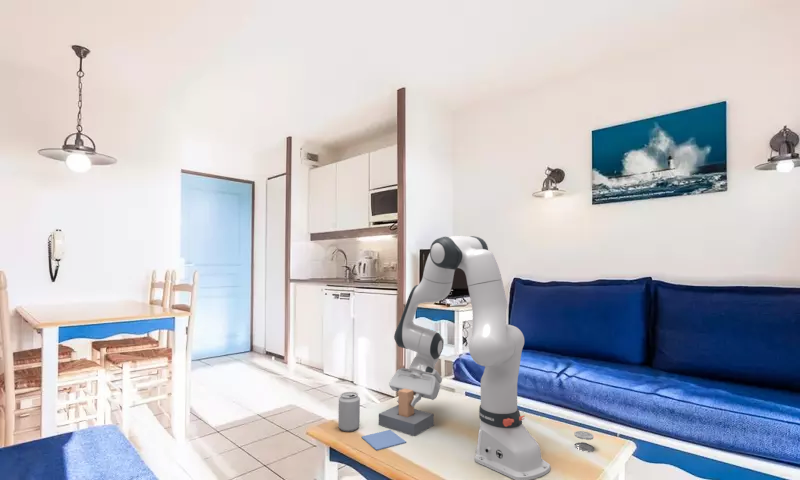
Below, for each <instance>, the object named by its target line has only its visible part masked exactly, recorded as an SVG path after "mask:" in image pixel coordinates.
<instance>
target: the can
mask: <svg viewBox="0 0 800 480" xmlns="http://www.w3.org/2000/svg"><path fill="white" fill-rule="evenodd" d="M358 395H359V393H357V392H355V391H346V392H342V393H340V396H339V397H338V428H339V429H340V430H341V431H342V432H354V431H356V430H357V429H358V428H359V427H360V426H361V424H360V422H361V421H360V420H361V418H360V416H361V413H360V411H361V410H360V409H361V408H360V407H361V406H360V405H361V403H360V402H361V399H360V397H359V396H358Z"/></svg>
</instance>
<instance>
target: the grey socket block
mask: <svg viewBox="0 0 800 480" xmlns="http://www.w3.org/2000/svg"><path fill="white" fill-rule="evenodd" d="M434 420H435V419H434V413H432V412H427V411H423V410H421V409H417V408H414V415H412V416H410V417H408V418H407V417H404V416H401V415H399V404H397V405H395V406H393V407H391V408H389V409H385V410H384V411H381V412H378V426H380V427H384V428H387V429H389V430H393V431H397V432H399V433H402V434H406V435H409V436H412V437H416V436H418V435H420V434H421V433H423V432H424V431H427V430H428V429H430V428H432V427H433V426H434V425H435V424H434V423H435V422H434Z"/></svg>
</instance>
